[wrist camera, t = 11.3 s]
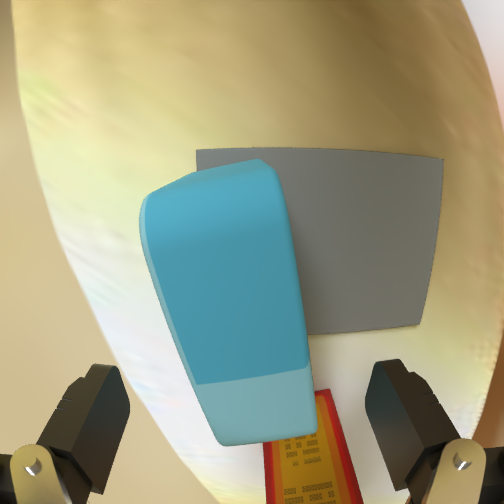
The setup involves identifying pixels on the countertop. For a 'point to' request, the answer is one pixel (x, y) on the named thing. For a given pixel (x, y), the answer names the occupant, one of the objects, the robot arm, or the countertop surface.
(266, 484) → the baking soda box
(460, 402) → the countertop surface
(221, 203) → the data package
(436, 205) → the rubber mat
